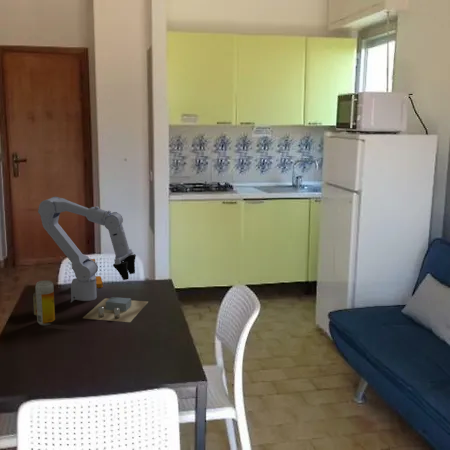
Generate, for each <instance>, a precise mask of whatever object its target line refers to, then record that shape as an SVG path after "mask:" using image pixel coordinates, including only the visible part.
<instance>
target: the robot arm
mask: <svg viewBox="0 0 450 450" xmlns="http://www.w3.org/2000/svg"><path fill="white" fill-rule="evenodd" d="M64 212H69V213H72V214H75V215H79V216H83V217H86V219H87V220H88V221H89V222H92V223H94V224H98V225H100V226H104V228H105V229H107V230H108V232H109V233H108V234H109V237H110V241H111V244H112V248H113V251H114V254H115V258H114V263H113V265H112V266H113V268H115V270H116V271H117V272H118V273H119V275H120V277H121V279H122V280H123V281H125V280H129V279H130V277H129V275H133V274H136V266H135V263H136V256H137V255H136V254H135V253H134V252H133V249H132V248H130V247H129V243H128V240H127V237H126V233H125V229H124V227H123V223H124V217H123V215H122V214H120V213H119V212H117V211H114V212H111V210H105V209H102V208H100V206H97V205H96V206H91V207H89V208H88V207H87V206H83V205H80V204H78V203H76V202H74V201H70V200H68V199H66V198H65V197H64V198H63V197H58V196H52V197H50V198H47V199H44V200H42V201H41V202H40V203H39V205H38V211H37V213H38V214H39V215H40V220H41V224H42V227H43V229H44V230H45V231H46V232H47V234H48V235H49V236H50V237H51V239H52V240H53V241H54V242H55V244H56V245H57V246H58V248H59V249H60V251H62V252H63V254H64V255H65V256H66V257H67V258H68V260H69V262H70V263H71V269H72V271H73V272H74V275H75V276H74V277H75V278H73V279H72V280H71V283H70V296H71V297H70V298H71V300H70V303H72V302H74V301H75V300H77V301H82V302H89V301H91V302H92V301H94V300H96V299H97V297H98V295H97V288H96V273H97V272H98V269H99V267H98V264H97V262H96V261H95V262H94V261H92V260H91V259H92V258H90V257H89V256H88V255H86V254H83V253H82V252H81V251H82V250H80V249H79V248H78V247H77V245H76V244H75V243H74V241H73V240H72V238H71V237H70V236H69V234H67V232H66V231H65V230H64V228H62V226H61V225H60V224H59V219H60V214H61V213H64Z"/></svg>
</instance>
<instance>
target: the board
mask: <svg viewBox="0 0 450 450" xmlns="http://www.w3.org/2000/svg"><path fill="white" fill-rule="evenodd" d="M109 299H110V298H109V297H108V298H107V297H106V298H105V297H104V299H102V300H101V301H100V302H99V303H98V304H97V305H95V306H94V308H92V309H91V310H89V312H88V313H87V314H85V315H84V316H83V317H82V319H84V320H85V319H87V320H98V321H99V320H100V321H111V322H121V323H122V322H123V323H124V322H125V323H132V321H133V320H134V319H135V318H136V317H137V315H138V314H139V313H140V312H141V311H142V310H143V308H145V307H146V305H148V303H149V301H145V300H132V299H131V307H130V308H129V309H128V310H127V311H120V318H119V319H115V318H114V310H106V301H107V300H109ZM101 306H102V307H104V317H102V318H100V317H99V316H98V307H101Z"/></svg>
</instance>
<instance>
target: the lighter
mask: <svg viewBox="0 0 450 450" xmlns="http://www.w3.org/2000/svg"><path fill="white" fill-rule="evenodd" d="M32 295H33V296H32V300H33V315H34V316H37V306H36V291H35V292H34V293H33V294H32Z"/></svg>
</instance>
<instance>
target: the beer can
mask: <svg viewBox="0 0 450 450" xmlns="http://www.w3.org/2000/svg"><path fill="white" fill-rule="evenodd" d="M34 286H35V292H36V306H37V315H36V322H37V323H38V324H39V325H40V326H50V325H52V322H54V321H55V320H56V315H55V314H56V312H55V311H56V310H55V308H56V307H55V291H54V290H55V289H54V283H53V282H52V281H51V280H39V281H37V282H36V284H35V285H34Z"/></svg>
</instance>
